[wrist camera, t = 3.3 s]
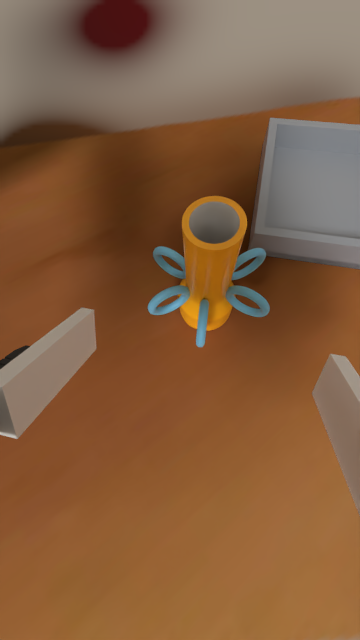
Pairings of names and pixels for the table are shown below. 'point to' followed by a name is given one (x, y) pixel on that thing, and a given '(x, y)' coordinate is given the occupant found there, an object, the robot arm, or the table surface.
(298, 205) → the tray
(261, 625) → the table surface
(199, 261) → the cylinder
